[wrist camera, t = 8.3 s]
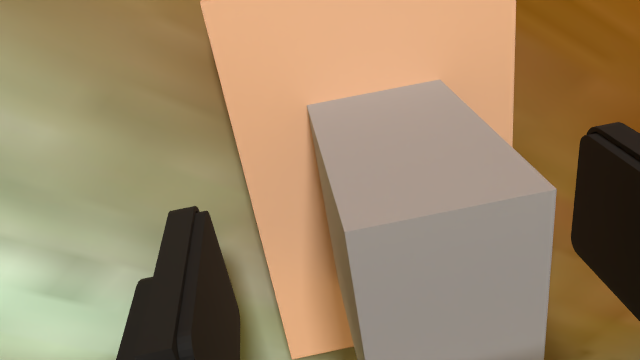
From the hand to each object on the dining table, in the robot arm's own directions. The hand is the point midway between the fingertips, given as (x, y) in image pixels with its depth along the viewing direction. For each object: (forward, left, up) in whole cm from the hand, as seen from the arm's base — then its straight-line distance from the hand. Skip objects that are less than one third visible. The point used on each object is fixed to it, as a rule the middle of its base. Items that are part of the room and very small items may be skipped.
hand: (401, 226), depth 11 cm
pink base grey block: (0, 0, -3) cm, 3 cm away
